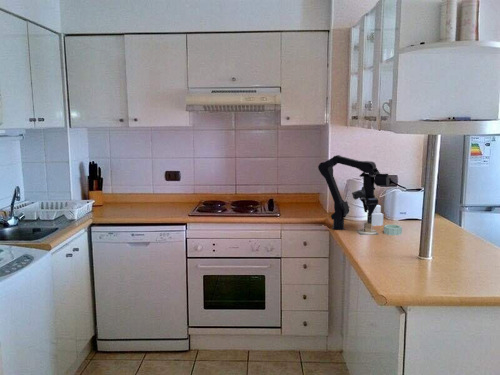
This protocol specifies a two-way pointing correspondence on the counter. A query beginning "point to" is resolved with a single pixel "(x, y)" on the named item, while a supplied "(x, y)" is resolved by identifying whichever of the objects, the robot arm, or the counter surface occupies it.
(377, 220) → the medicine bottle
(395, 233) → the bowl
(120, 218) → the counter surface
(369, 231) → the lid
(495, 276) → the counter surface
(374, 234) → the mat
